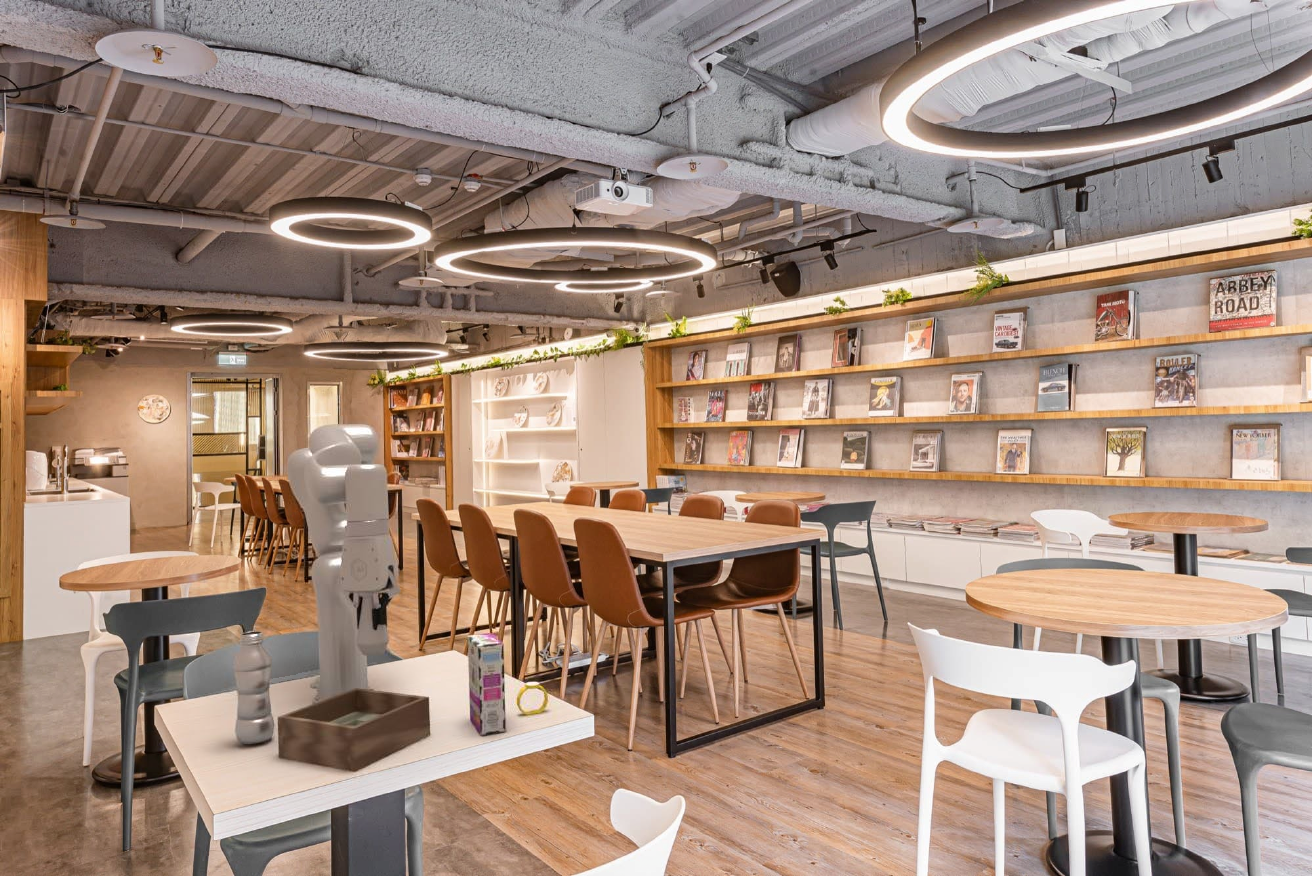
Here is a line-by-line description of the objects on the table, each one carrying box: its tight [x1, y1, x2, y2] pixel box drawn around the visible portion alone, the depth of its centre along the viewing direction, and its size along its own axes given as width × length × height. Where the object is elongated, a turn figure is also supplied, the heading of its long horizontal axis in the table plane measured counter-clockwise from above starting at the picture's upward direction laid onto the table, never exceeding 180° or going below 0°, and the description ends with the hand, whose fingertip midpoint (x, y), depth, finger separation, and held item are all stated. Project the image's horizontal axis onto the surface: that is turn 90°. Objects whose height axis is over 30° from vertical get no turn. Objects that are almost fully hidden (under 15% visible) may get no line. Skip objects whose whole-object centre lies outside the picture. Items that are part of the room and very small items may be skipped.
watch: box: [516, 681, 549, 716], centre depth 162 cm, size 6×3×6 cm, turn 114°
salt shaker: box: [356, 592, 390, 656], centre depth 154 cm, size 6×6×13 cm
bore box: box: [277, 688, 431, 772], centre depth 147 cm, size 18×18×7 cm
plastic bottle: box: [232, 630, 275, 745], centre depth 152 cm, size 6×7×20 cm
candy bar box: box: [467, 632, 507, 736], centre depth 156 cm, size 11×5×16 cm, turn 23°
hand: (372, 627), depth 154 cm, fingers closed on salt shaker, 3 cm apart
